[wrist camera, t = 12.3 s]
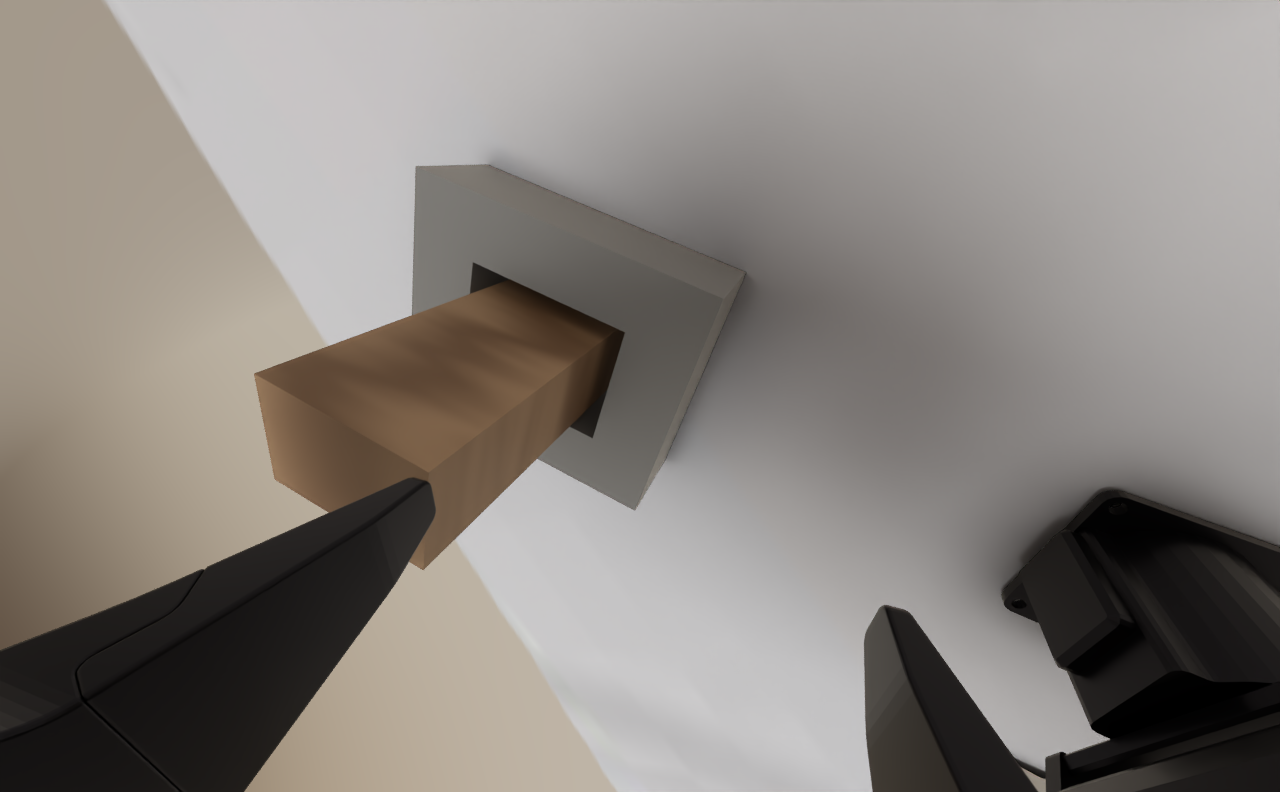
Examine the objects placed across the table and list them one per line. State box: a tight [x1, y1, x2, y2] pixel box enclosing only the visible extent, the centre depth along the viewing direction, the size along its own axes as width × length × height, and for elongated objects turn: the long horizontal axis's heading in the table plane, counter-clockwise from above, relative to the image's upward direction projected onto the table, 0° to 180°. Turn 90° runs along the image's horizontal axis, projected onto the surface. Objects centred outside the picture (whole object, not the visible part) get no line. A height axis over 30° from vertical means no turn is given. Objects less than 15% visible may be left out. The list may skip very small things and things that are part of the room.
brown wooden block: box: [254, 279, 625, 570], centre depth 16 cm, size 5×4×12 cm
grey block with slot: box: [412, 165, 746, 510], centre depth 20 cm, size 12×10×4 cm
